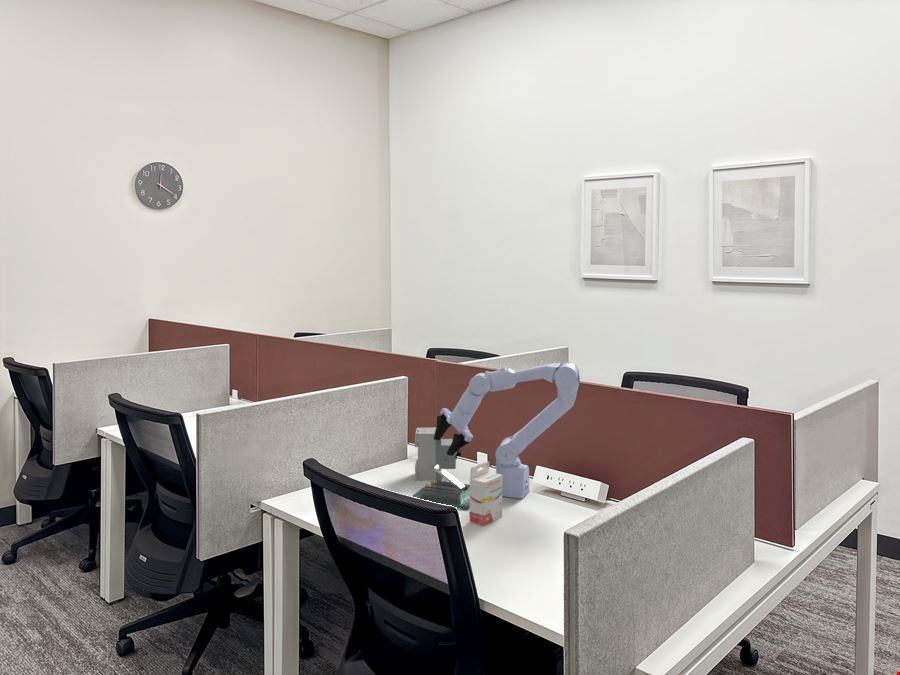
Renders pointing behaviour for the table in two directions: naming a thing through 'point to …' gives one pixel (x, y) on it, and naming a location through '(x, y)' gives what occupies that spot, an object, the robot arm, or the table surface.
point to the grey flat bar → (449, 477)
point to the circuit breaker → (432, 455)
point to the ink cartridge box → (485, 495)
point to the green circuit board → (445, 494)
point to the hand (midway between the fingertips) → (442, 447)
